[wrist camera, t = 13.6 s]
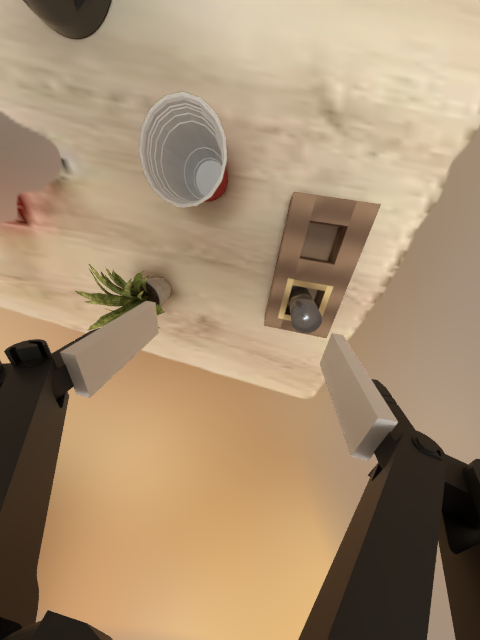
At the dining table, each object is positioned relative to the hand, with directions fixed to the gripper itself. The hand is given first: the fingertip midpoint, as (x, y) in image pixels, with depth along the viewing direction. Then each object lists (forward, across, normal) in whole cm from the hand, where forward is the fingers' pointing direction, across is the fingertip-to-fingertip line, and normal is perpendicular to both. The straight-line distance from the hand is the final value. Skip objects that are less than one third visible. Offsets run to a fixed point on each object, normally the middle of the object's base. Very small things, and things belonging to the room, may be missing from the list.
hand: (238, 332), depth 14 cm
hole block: (+26, +9, +1) cm, 28 cm away
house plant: (+26, -20, -8) cm, 34 cm away
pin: (+25, +8, -4) cm, 27 cm away
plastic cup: (+27, -11, +13) cm, 32 cm away
